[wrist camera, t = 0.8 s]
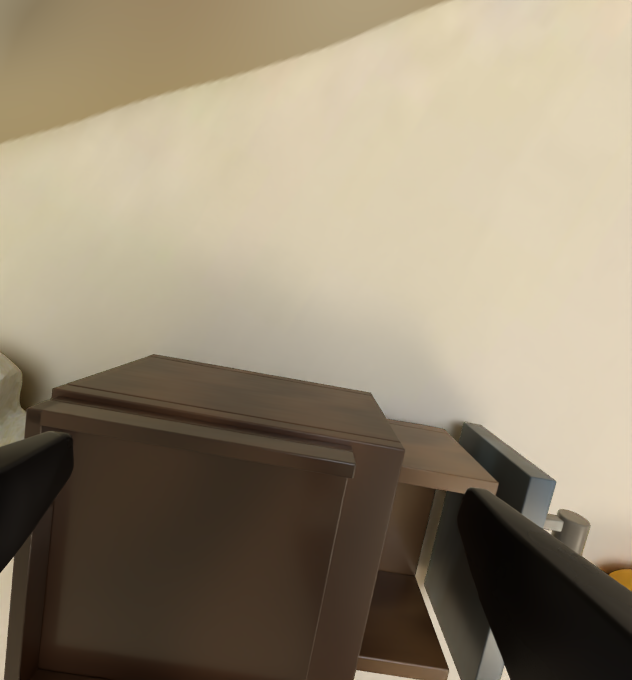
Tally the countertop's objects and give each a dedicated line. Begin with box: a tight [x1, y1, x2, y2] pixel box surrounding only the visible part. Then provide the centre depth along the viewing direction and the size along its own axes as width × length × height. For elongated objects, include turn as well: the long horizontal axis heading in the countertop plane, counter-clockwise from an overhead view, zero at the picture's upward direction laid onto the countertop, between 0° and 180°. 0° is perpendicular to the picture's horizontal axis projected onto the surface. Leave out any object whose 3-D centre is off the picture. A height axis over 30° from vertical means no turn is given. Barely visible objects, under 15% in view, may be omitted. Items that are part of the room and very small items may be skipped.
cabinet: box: [52, 354, 405, 680], centre depth 18 cm, size 14×13×8 cm
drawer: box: [356, 419, 591, 680], centre depth 18 cm, size 18×12×7 cm, turn 80°
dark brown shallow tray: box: [4, 396, 356, 680], centre depth 13 cm, size 12×12×2 cm
